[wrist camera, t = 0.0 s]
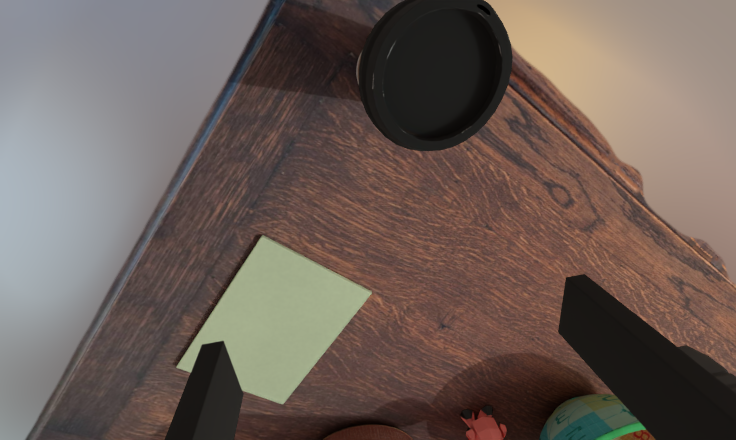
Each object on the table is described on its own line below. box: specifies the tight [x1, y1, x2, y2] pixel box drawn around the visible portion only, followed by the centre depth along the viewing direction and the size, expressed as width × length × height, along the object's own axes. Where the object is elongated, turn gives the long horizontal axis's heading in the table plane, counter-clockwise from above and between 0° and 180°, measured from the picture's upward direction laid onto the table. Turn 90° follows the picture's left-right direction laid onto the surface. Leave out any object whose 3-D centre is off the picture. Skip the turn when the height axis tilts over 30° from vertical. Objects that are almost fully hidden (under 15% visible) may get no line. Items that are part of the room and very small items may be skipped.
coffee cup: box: [356, 0, 512, 151], centre depth 25 cm, size 8×8×15 cm
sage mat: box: [176, 235, 372, 404], centre depth 42 cm, size 20×14×1 cm
